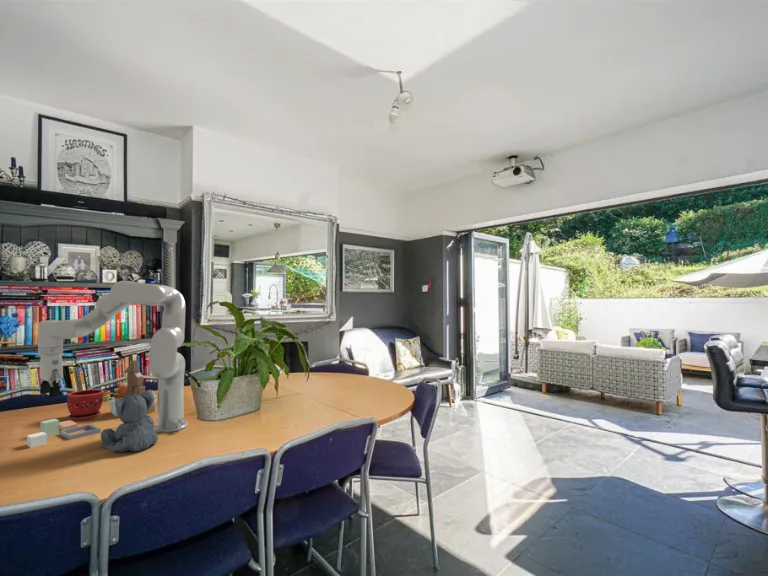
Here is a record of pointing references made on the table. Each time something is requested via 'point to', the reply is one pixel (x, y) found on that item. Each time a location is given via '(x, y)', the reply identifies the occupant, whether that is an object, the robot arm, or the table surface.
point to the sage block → (50, 427)
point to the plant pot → (84, 404)
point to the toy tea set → (118, 392)
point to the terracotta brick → (67, 425)
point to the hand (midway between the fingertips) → (50, 394)
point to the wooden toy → (135, 382)
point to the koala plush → (131, 424)
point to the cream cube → (36, 439)
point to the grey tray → (88, 430)
